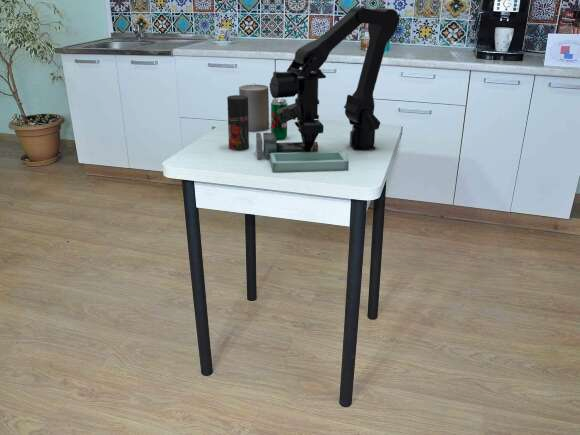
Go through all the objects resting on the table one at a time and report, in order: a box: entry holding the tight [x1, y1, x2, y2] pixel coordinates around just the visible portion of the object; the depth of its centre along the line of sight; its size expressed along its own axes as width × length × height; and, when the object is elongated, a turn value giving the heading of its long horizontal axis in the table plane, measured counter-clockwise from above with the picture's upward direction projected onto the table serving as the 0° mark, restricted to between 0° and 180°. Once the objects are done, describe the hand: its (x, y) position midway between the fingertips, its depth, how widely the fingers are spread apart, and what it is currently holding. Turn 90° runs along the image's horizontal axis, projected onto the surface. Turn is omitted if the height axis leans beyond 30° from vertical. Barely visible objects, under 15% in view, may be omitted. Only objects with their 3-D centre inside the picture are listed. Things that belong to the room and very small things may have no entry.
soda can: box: [270, 98, 288, 141], centre depth 171 cm, size 5×5×12 cm
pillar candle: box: [238, 82, 270, 133], centre depth 182 cm, size 10×10×15 cm
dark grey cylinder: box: [276, 141, 319, 153], centre depth 157 cm, size 14×3×3 cm, turn 97°
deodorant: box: [226, 94, 250, 152], centre depth 160 cm, size 6×6×15 cm
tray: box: [269, 150, 350, 173], centre depth 148 cm, size 20×9×2 cm, turn 97°
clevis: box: [255, 132, 278, 161], centre depth 155 cm, size 5×8×6 cm, turn 7°
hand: (306, 150), depth 157 cm, fingers closed on dark grey cylinder, 3 cm apart
